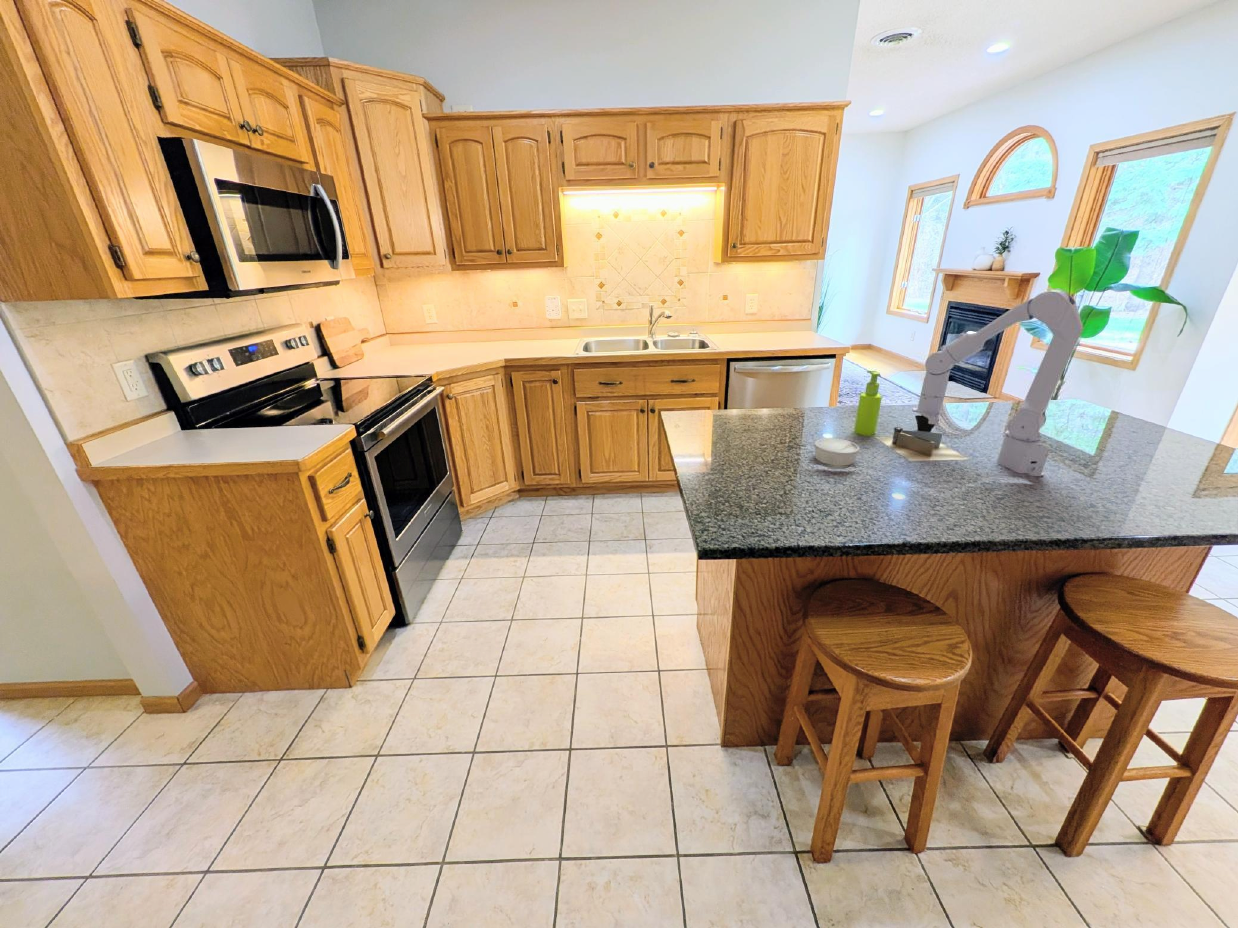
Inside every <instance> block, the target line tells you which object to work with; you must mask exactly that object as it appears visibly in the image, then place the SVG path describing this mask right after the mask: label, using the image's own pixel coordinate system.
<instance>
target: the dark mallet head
mask: <svg viewBox="0 0 1238 928" xmlns="http://www.w3.org/2000/svg"><path fill="white" fill-rule="evenodd" d="M893 430H894V431H893V436H892V437H893V440H892V444H894V445H896V446H898V447H901V448H904V449H907V450H910V451H913V452H916V453H919V454H922V455H925V456H928V457H931V456H932V453H933V449H934V444H935V442H931V441H928V440H925V439H921V438H918V437H915V436H912V435H908V434H905V433H902V430H903V428H902V427H899V426H895V427H894V428H893Z"/></svg>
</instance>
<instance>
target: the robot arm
mask: <svg viewBox="0 0 1238 928" xmlns="http://www.w3.org/2000/svg"><path fill="white" fill-rule="evenodd" d="M1034 319H1036V320H1038V321H1039V322H1041V323H1043V324H1044V325H1045V326H1046V327H1047V328H1048V330H1049V331H1050V333H1052V338H1051V339H1050V343H1049V344H1048V347H1047V349H1046V351H1045V353H1044V356H1043V358H1042V360H1041V362H1040V365H1039V367H1038V369H1037V372H1036V373H1035V376H1034V378H1033V379H1032V380H1033V381H1032V383H1031V384H1030V387H1029V389H1028V392H1027V394H1026V396H1025V399H1024V401H1023V402H1022V404H1021V406H1020V407H1019V409H1018V411H1017V412H1016V414H1015V415H1014V416H1013V417H1012V418H1010V420H1009V421H1008V423H1007V425H1006V426H1007V430H1006V431H1005V432H1004V437H1003V440H1002V444H1001V446H1000V450H999V453H998V457H997V459H996V460H997V461H996V463H997V464H999V466H1002V467H1005V468H1007V469H1009V470H1012V471H1014V472H1015V473H1018V474H1029V475H1030V476H1031V477H1044V476H1045V473H1043V470H1044V467H1045V464H1046V462H1047V461H1046V460H1047V459H1048V455H1049V449H1048V447H1047V446H1046V445H1044V443H1043V442H1042V440H1041V439H1042V435H1041V433H1040V430H1041V428H1043V426H1044V425H1045V424H1046V421H1047V416H1046V411H1047V409H1048V407H1049V402H1050V400H1051V398H1052V396H1053V394H1054V392H1055V391H1056V387H1057V385H1058V383H1059V381H1060V379H1061V378H1062V375H1063V373H1064V370H1065V369H1066V366H1067V364H1068V362H1069V360H1070V358H1071V356H1072V353H1073V352H1074V349H1075V348H1076V346H1077V343H1078V341H1079V339H1080V337H1081V334H1082V333H1083V331H1084V325H1083V322H1082V319H1081V316H1080V313H1079V310H1078V306H1077V302H1076V299H1074V298H1073V296H1071V295H1070V293H1069V292H1067V291H1066V290H1064V289H1061V288H1053V289H1049V290H1047V291H1044V292H1040V293H1039V294H1037V295H1036V296H1035V297H1033V298H1029V299H1027V300H1026V301H1025V300H1024V302H1021V303H1020V304H1017V305H1016V306H1014V307H1012V308H1011V309H1009V310H1008V311H1006V312H1005V313H1003V314H1001V315H1000V316H999V317H997V318H996V319H994V320H993V321H991V322H990V323H988V324H986V325H985V326H983V327H982V328H981V329H979V330H978V331H971V330H969V331H967V332H961V333H960V334H958V335H957V338H956V339H954V340H953V341H951V342H950V343H948V344H946V345H944V344H943V345H942V346H940V350H939V351H935V352H933V353H931V354H930V355H929V356H928V357H927V358H926V360H925V363H924V364H925V365H924V367H925V369H926V372H925V375H924V378H923V382H922V386H921V387H922V388H921V390H920V396H919V399H918V404H917V407H912V410H911V411H912V412H913V413H918V414H917V415H915V421H916V424H917V425H916V426H917V429H916V430H917V431H928V432H932V430H933V429H934V427H935V426H936V425H938V423H939V421H940V420H939V418H940V416H941V415H942V407H943V403H944V400H945V396H946V392H947V387H948V384H949V377H950V374H951V373H950V372H951V370H952V369H953V368H954V366H956V365H957V364H960V363H962V362H964V361H966V360H967V359H968V358H971V356H973V355H975V354H977V353H978V352H980V351H982V350H983V348H984V345H985V343H986V341H987V340H989V339H991V338H993V337H995V336H997V335H999V333H1001V332H1003V331H1005V330H1006V329H1009V328H1010V327H1012V326H1013V325H1015V324H1017V323H1020V322H1027V321H1031V320H1034Z"/></svg>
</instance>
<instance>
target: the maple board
mask: <svg viewBox="0 0 1238 928" xmlns="http://www.w3.org/2000/svg"><path fill="white" fill-rule="evenodd" d="M874 438H876V439H877V440H878V441H880V442H881V443H882V444H883V445H886V446H887V447H888V448H890V449H892V450H893V451H894V452H896V453H897V454H899V455H901V456H902V457H903V458H905V459H906V460H908V461H909V462H917V461H919V462H920V461H921V462H923V461H927V462H929V461H961V460H962V461H963V460H965V461H966V460H970V458H969V457H966V456H964V455H963V454H961V453H959V452H957V451H956V450H953V449H952V448H950V447H948V446H947V445H945V444H942V442H940V446H939V447H935V446H934V449H933V453H932V456H931V457H928V456H925V455H922V454H919V453H916V452H913V451H910V450H907V449H904V448H901V447H898V446H896V445H894V444H892V440H893V436H875V437H874Z"/></svg>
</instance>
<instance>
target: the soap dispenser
mask: <svg viewBox="0 0 1238 928" xmlns="http://www.w3.org/2000/svg"><path fill="white" fill-rule="evenodd" d="M866 373H867V374H868V373H869V374H870V375H871V377H870V381H869V382H867V383H866V387H865V392H862V393H860V394H859V395H860V396H859V401H858V406H857V413H856V416H855V417H856V419H855V423H854V431H853V432H854V433H855V434H856V435H860V436H874V435H876V429H877V424H878V418H879V414H880V409H881V408H880V407H881V403H882V399H883V396H882V395H881V394H879V389H880V383H879V382H877V381H878V377H880V376H881V373H880V372H879V371H877V370H867V371H866Z"/></svg>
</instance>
